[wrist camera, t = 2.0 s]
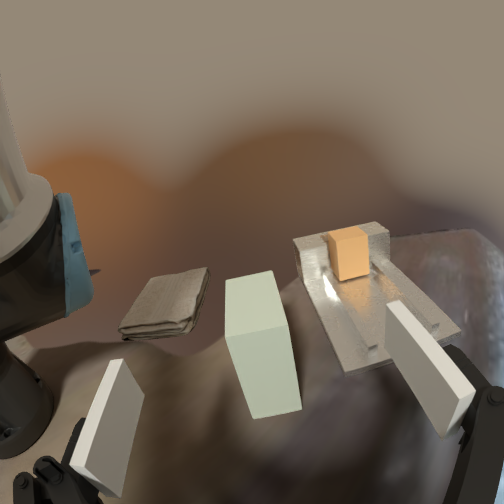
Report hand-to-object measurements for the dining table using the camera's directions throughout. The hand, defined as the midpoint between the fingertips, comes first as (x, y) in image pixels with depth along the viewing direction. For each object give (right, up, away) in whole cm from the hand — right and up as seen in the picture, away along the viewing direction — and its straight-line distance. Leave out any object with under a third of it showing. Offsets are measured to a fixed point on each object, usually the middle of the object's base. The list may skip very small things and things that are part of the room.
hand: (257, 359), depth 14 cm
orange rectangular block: (+14, +2, +30) cm, 33 cm away
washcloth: (-13, -4, +34) cm, 37 cm away
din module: (+2, -8, +15) cm, 17 cm away
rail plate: (+15, -1, +24) cm, 28 cm away
